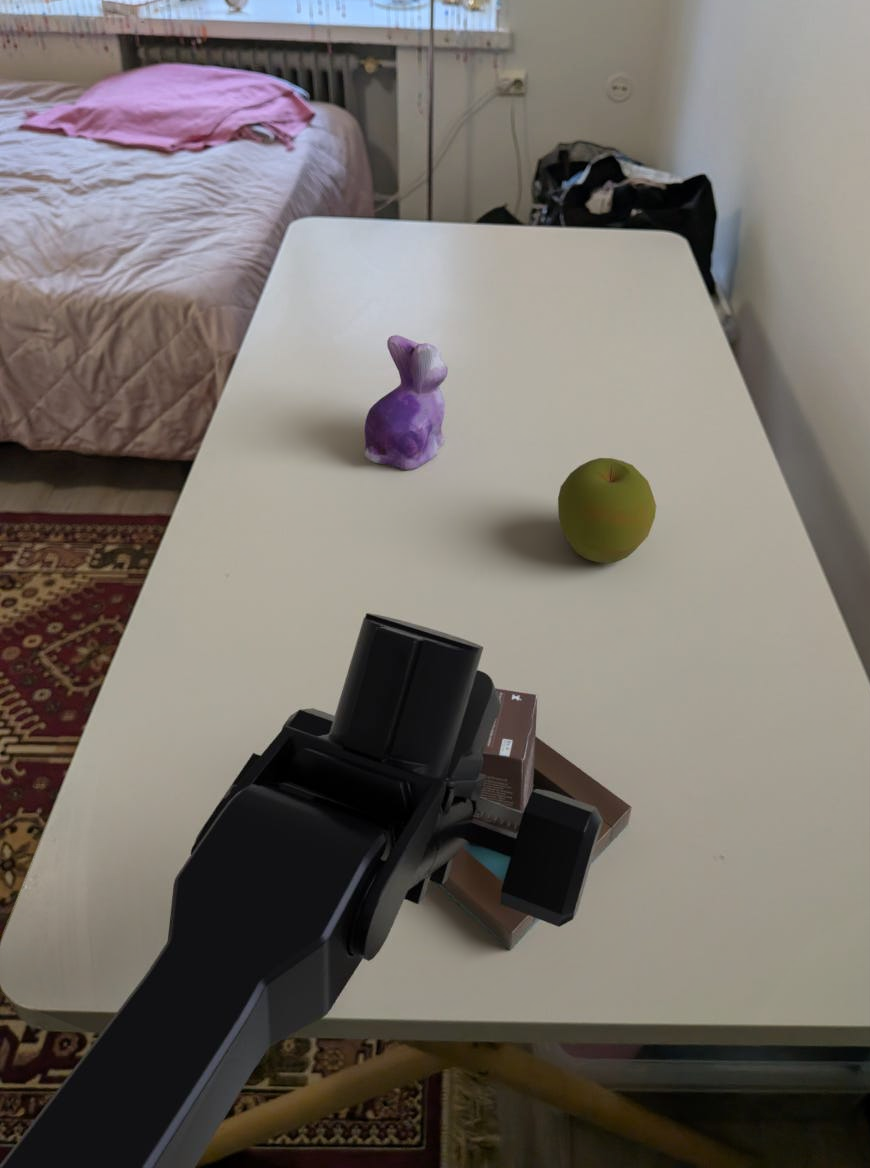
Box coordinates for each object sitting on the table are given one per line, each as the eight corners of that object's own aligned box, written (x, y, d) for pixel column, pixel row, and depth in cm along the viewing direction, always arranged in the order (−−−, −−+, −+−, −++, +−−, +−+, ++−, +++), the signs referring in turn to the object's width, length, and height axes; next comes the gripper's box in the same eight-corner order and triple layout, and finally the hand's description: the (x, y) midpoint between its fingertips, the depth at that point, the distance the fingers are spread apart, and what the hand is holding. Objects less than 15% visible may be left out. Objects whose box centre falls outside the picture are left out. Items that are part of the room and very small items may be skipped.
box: (478, 781, 77) (482, 683, 70) (533, 792, 77) (543, 693, 69) (462, 847, 73) (464, 749, 65) (520, 858, 72) (529, 761, 65)
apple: (536, 533, 102) (543, 448, 95) (612, 508, 106) (624, 425, 99) (587, 591, 96) (599, 505, 89) (666, 562, 99) (683, 477, 92)
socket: (510, 951, 67) (511, 934, 66) (366, 821, 75) (365, 803, 73) (628, 824, 75) (632, 806, 74) (487, 719, 83) (488, 701, 81)
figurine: (448, 423, 118) (448, 313, 108) (445, 473, 110) (445, 358, 100) (371, 421, 118) (365, 310, 108) (363, 471, 110) (355, 356, 100)
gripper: (614, 733, 44) (641, 714, 59) (265, 619, 49) (372, 628, 64) (547, 969, 44) (592, 889, 59) (201, 830, 49) (323, 789, 64)
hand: (466, 790), depth 61 cm, fingers open, 9 cm apart
